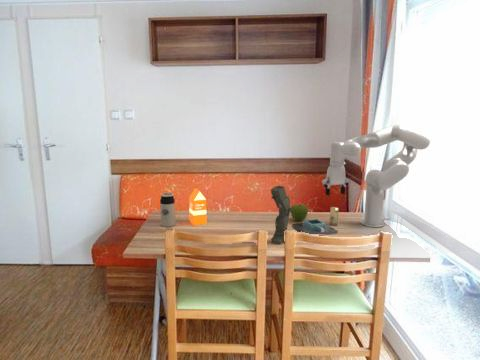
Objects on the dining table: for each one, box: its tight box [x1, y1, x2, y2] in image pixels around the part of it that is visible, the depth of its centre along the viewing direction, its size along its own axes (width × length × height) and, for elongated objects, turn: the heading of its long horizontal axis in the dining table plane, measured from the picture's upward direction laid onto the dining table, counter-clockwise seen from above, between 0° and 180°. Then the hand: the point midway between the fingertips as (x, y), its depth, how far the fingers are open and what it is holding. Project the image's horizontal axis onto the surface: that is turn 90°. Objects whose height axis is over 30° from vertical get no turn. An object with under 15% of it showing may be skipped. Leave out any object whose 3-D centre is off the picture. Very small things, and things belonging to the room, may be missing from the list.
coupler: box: [329, 206, 340, 227], centre depth 206 cm, size 4×5×10 cm
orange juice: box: [188, 187, 208, 226], centre depth 208 cm, size 8×9×20 cm
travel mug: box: [159, 192, 176, 228], centre depth 204 cm, size 8×8×18 cm
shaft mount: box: [291, 218, 339, 235], centre depth 198 cm, size 18×18×4 cm
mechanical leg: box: [270, 185, 291, 245], centre depth 178 cm, size 14×7×30 cm, turn 141°
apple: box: [290, 203, 309, 222], centre depth 214 cm, size 11×10×10 cm
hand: (335, 194), depth 203 cm, fingers open, 9 cm apart
